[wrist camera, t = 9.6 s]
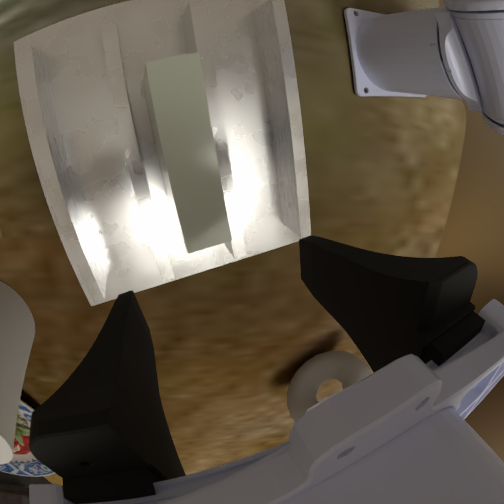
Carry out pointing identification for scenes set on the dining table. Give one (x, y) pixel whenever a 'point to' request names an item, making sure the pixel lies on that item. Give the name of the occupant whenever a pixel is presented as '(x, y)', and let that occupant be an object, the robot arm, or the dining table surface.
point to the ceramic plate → (24, 448)
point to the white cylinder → (12, 363)
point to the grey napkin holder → (17, 487)
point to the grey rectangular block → (186, 149)
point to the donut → (322, 378)
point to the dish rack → (141, 139)
